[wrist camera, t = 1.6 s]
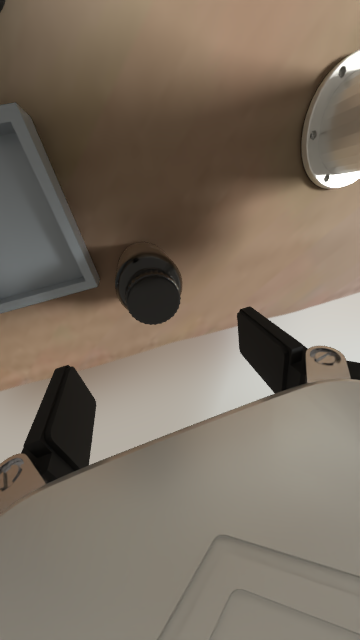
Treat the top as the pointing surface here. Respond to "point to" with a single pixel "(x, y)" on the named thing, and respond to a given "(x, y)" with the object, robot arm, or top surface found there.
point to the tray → (35, 222)
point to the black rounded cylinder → (2, 4)
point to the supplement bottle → (148, 283)
